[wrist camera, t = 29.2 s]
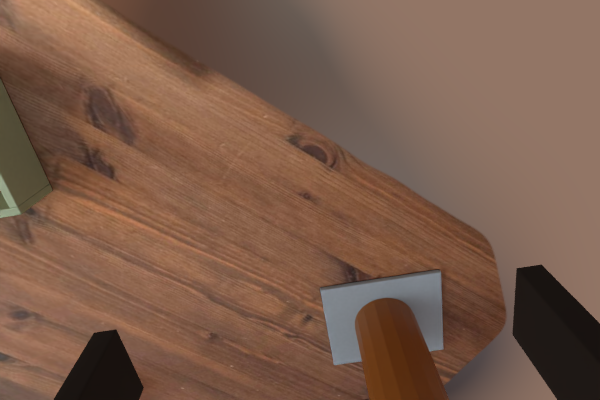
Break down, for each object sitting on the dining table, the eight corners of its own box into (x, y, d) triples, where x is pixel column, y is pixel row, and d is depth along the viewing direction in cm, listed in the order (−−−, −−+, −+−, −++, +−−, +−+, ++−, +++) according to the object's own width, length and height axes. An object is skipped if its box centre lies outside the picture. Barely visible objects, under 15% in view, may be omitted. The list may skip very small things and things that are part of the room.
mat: (439, 269, 47) (441, 272, 47) (441, 346, 52) (443, 349, 52) (319, 287, 48) (320, 290, 47) (333, 361, 53) (334, 365, 52)
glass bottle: (376, 288, 48) (422, 434, 31) (426, 312, 49) (493, 462, 33) (343, 330, 50) (369, 485, 34) (391, 351, 52) (437, 509, 35)
